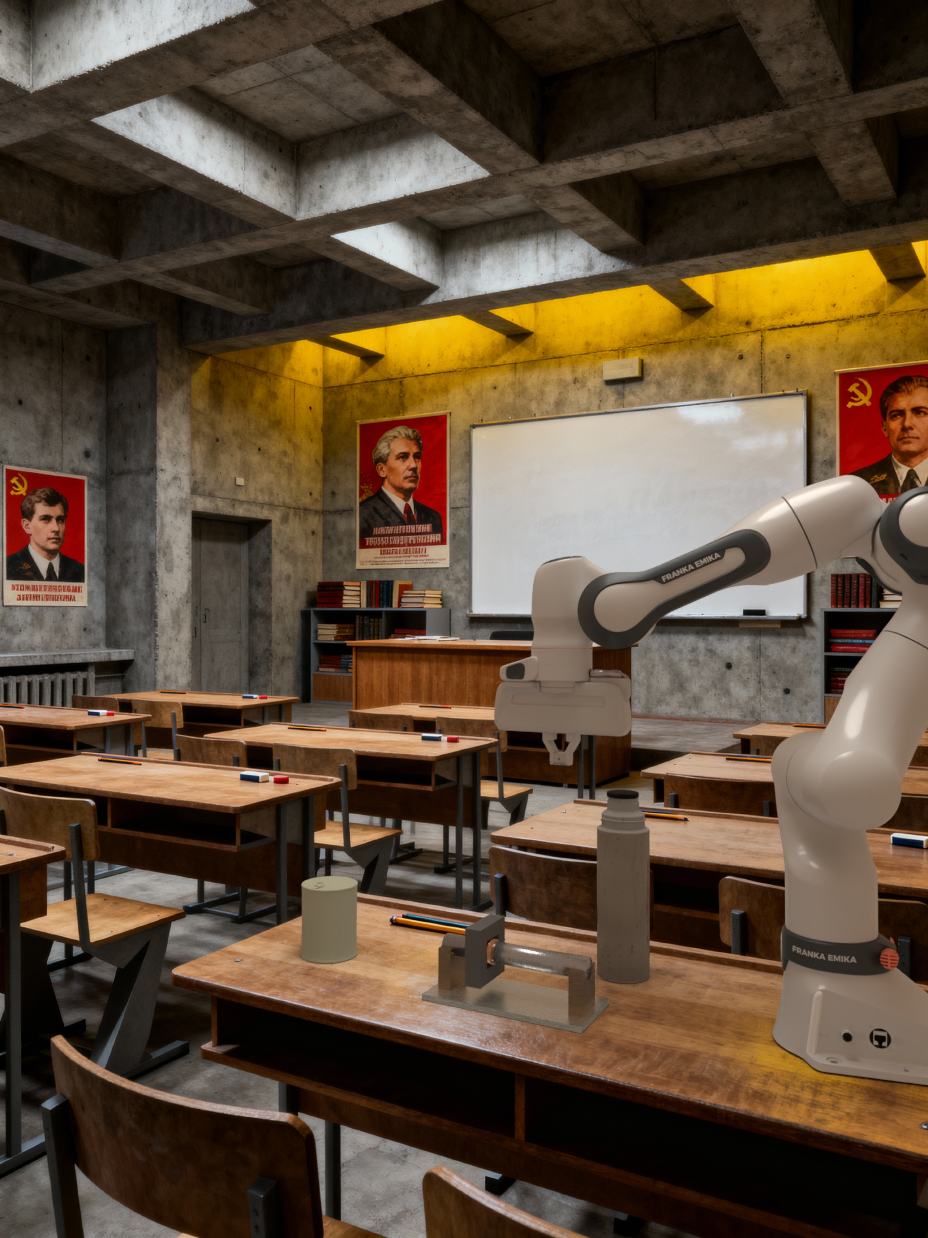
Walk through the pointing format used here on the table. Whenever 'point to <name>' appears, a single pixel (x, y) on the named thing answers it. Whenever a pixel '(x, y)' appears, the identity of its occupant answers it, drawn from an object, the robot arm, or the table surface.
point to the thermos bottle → (623, 890)
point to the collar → (482, 950)
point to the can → (329, 919)
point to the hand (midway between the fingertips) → (561, 764)
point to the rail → (520, 985)
